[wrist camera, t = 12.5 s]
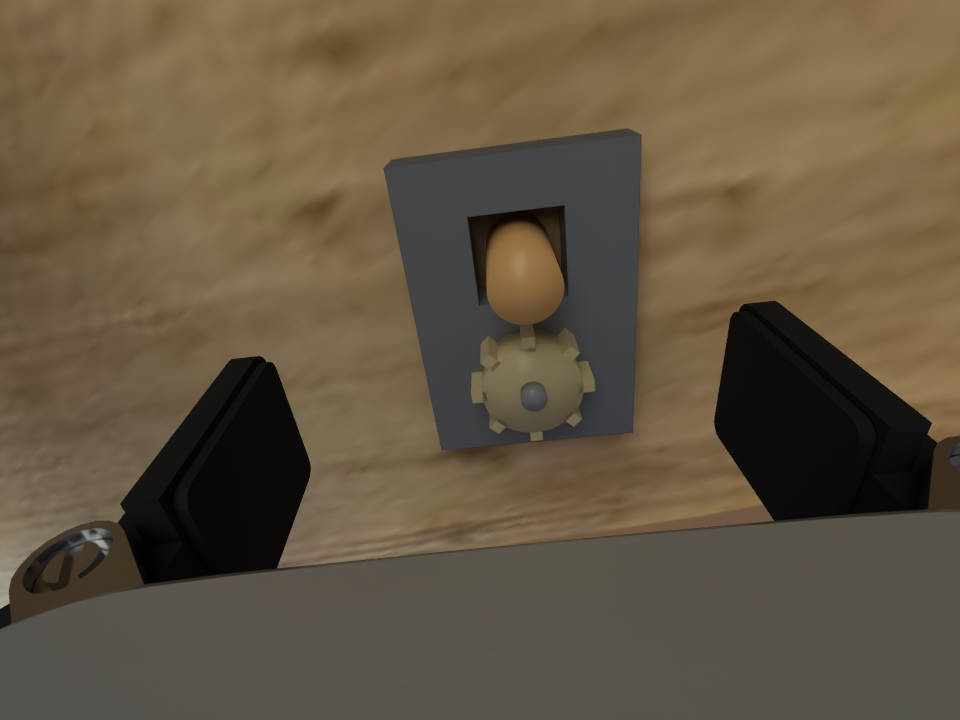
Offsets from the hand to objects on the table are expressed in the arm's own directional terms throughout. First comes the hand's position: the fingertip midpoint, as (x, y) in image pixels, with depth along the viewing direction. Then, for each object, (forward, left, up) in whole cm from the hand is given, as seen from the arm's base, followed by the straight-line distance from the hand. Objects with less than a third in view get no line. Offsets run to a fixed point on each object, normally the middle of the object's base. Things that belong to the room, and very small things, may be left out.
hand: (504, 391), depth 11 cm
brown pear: (+4, +1, -24) cm, 24 cm away
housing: (+8, +1, -24) cm, 25 cm away
